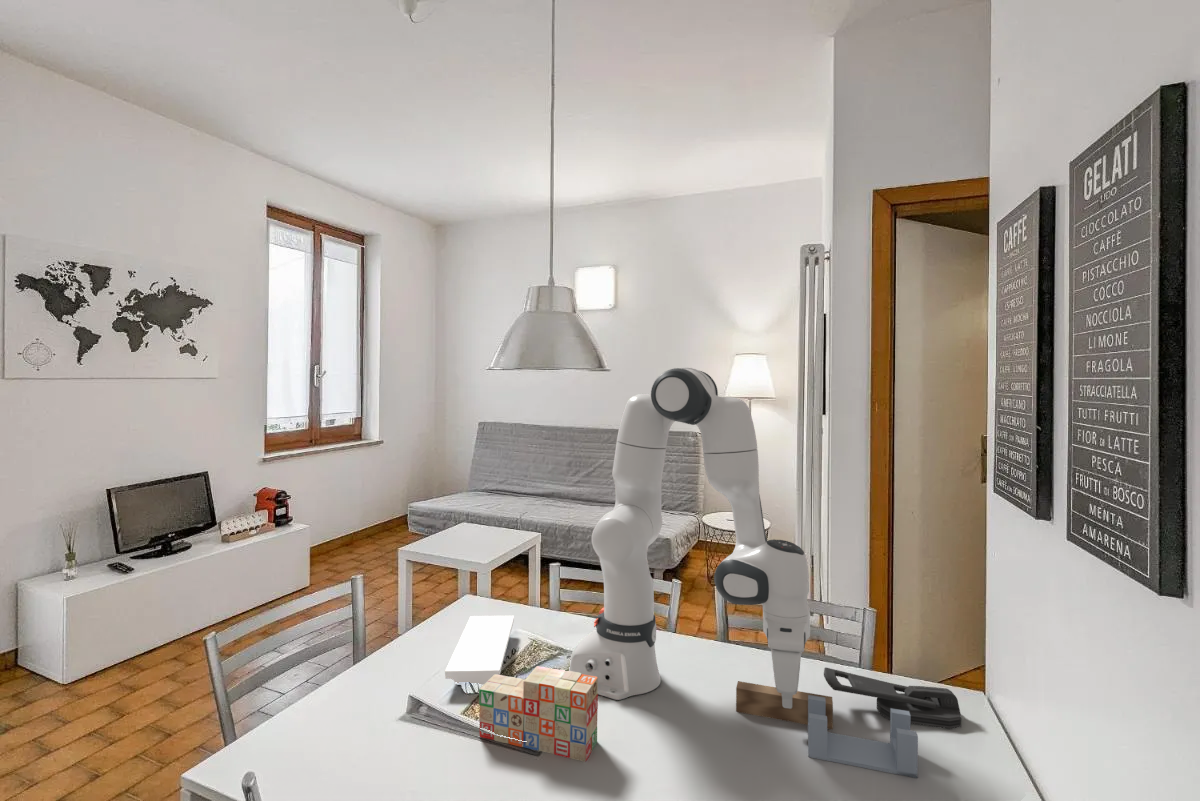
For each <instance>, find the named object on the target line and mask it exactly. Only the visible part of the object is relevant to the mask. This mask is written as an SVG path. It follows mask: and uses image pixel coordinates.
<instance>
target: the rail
mask: <svg viewBox="0 0 1200 801" xmlns="http://www.w3.org/2000/svg"><path fill="white" fill-rule="evenodd" d="M735 691H736V692H735V702H736V703H735V712H737V713H742V714H748V715H752V716H759V717H763V718H768V719H775V720H779V721H784V722H785V721H786V722H791V723H795V724H801V725H807V726H808V695H812V696H818V697H824V698H825V700H826V715H825V716H827V730H828V729H829V730H833V729H834V726H833V725H834V724H833V723H834V719H833V718H834V712H833V711H834V702H833V696H830V695H829V696H828V695H824V694H823V695H822V694H818V693H813V692H805V691H799V690H797V693H796V694H795V695H793V697H792V708H791V709H789V708H784V707H783V706H782V694H781V693H779V692H777V690H776V686H775V687H774V686H770V685H764V684H757V683H750V682H747V681H737V683H736V688H735Z"/></svg>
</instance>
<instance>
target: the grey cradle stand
mask: <svg viewBox="0 0 1200 801" xmlns="http://www.w3.org/2000/svg"><path fill="white" fill-rule="evenodd" d="M825 715H826V700H825V698H824V697H818V696H812V695H808V725H807V742H808V744H807V747H808V758H813V759H817V760H822V761H823V760H824V761H828V762H833V763H837V764H842V765H843V764H844V765H847V766H854V767H858V768H863V769H868V770H872V771H878V772H879V771H880V772H884V773H889V774H894V775H899V776H904V777H909V778H914V779H918V775H919V774H918V764H919V763H918V762H919V761H918V760H919V759H918V755H919V752H918V751H919V750H918V749H919V748H918V747H919V736H918V732H917V730H916V731H915V730H911V725H912V724H911V715H910V713H909V711H904V710H898V709H892V708H890V720H889V724H890V727H889V728H890V729H889V742H886V741H885V742H884V741H880V740H874V739H867V738H863V737H858V736H857V737H856V736H851V735H847V734H846V735H845V734H840V733H834V732H830V731H828V729H827V716H825Z"/></svg>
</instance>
